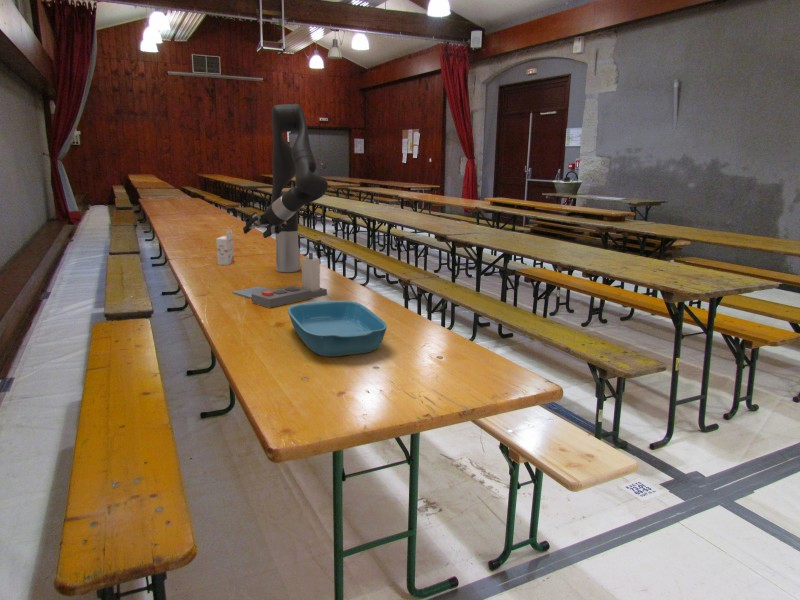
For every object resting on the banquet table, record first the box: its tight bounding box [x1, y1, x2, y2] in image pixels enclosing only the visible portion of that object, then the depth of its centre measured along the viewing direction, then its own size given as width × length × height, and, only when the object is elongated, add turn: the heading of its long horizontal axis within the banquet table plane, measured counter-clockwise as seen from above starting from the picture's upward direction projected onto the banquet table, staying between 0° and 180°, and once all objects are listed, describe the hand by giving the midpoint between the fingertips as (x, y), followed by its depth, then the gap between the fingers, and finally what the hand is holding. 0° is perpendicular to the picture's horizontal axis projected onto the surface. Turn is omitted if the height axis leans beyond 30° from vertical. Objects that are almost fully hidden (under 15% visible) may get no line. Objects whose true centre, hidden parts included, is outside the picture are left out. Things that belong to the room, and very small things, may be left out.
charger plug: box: [301, 252, 321, 292], centre depth 200 cm, size 4×4×15 cm
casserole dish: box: [287, 300, 388, 357], centre depth 154 cm, size 37×22×7 cm, turn 22°
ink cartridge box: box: [215, 229, 235, 266], centre depth 250 cm, size 9×5×15 cm, turn 179°
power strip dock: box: [251, 285, 328, 309], centre depth 195 cm, size 26×9×4 cm, turn 141°
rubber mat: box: [231, 286, 272, 299], centre depth 201 cm, size 12×12×1 cm
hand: (254, 233), depth 204 cm, fingers open, 8 cm apart
